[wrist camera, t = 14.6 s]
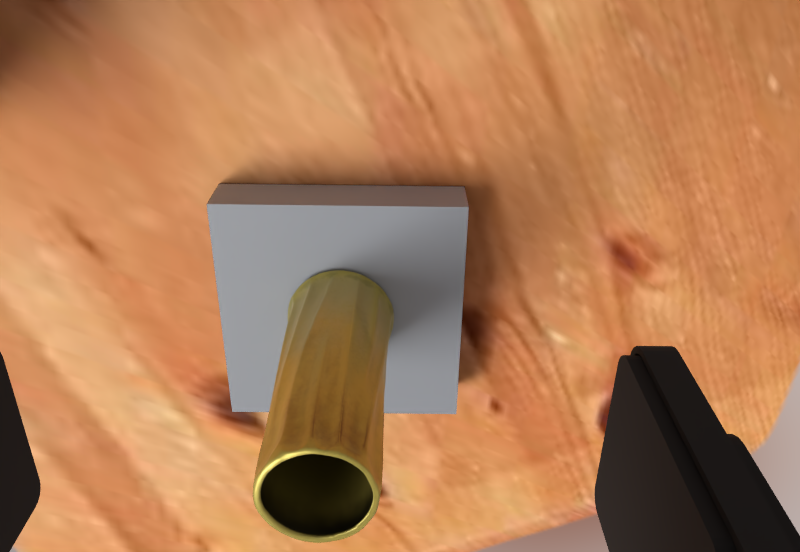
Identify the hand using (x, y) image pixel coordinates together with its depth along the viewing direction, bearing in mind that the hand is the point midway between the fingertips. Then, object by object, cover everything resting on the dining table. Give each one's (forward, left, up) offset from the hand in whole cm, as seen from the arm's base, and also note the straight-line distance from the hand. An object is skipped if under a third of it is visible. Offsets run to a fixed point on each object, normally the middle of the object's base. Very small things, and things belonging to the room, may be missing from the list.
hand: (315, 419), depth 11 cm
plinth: (+15, -2, -30) cm, 34 cm away
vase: (+15, -2, -28) cm, 31 cm away
